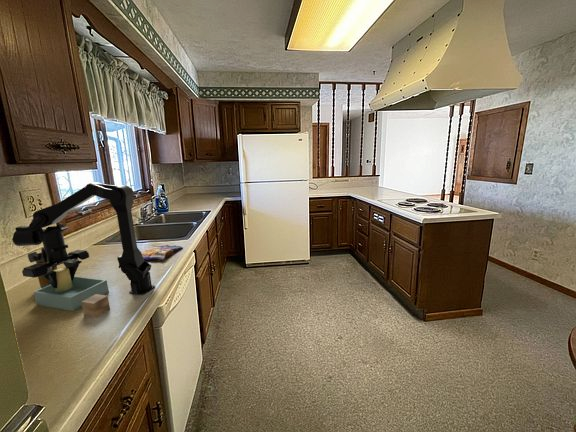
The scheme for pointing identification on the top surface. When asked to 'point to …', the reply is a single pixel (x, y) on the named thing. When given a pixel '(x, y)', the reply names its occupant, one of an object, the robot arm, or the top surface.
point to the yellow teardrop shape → (63, 279)
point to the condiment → (43, 280)
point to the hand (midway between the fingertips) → (63, 284)
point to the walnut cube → (95, 305)
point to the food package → (160, 253)
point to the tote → (71, 293)
